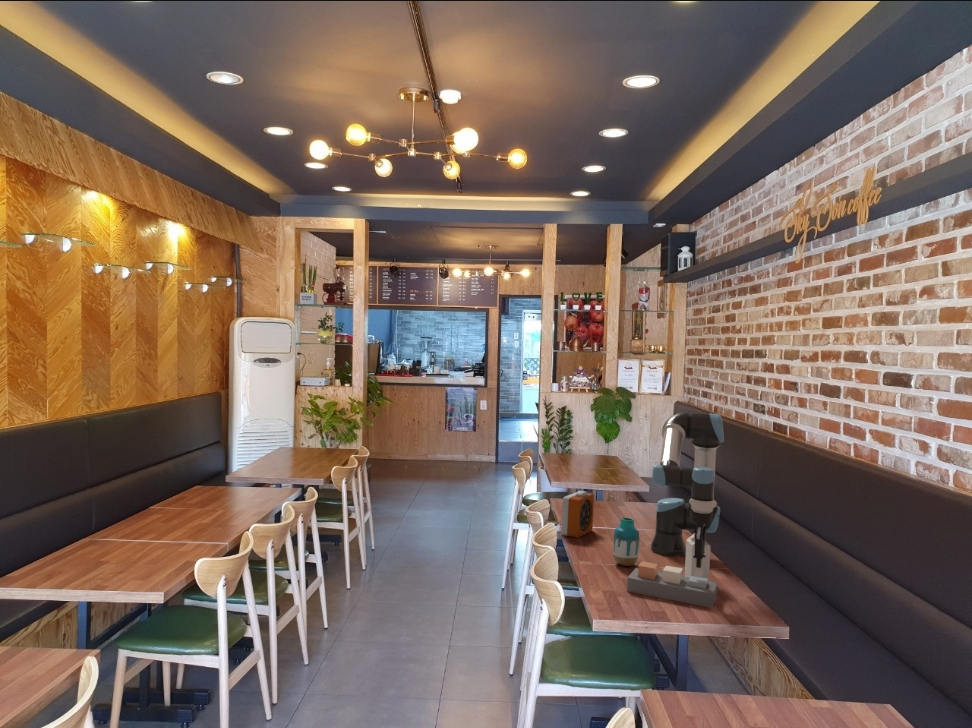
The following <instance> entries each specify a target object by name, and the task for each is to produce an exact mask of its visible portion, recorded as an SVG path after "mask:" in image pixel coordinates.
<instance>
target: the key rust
mask: <svg viewBox="0 0 972 728" xmlns="http://www.w3.org/2000/svg"><path fill="white" fill-rule="evenodd" d="M637 568H638V577H642V578H648V579H653V580H655V579H656V578H657V576H658V572H659V564H658V563H655V562H650V561H649V562H647V561H641V562H640V563H639V565H638V567H637Z"/></svg>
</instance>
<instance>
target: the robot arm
mask: <svg viewBox="0 0 972 728" xmlns="http://www.w3.org/2000/svg"><path fill="white" fill-rule="evenodd" d="M661 436H662V445H661V452H660V460H659V464H654V465H653V466H652V477H651V478H652V479H651V480H652V483H653V484H654V485H661V486H665V487H666V486H667V487H679V488H686V489H687V488H689V489H691V496H690V497H691V498H690V499H689V501H688V502H685V499H683V498H678V497H666V498H662V499H659V500H658V501H657V504H656V510H655V512H656V515H655V516H656V518H655V533H654V535H653V537H652V539H651V542H650V550H651V552H654V553H656V554H659V555H663V556H668V557H669V556H670V557H673V556H674V557H679V556H683V555H684V556H685V555H686V544H685V543H686V542H685V540H684V537H683V531H692V532H694V533H695V534H694V533H693V534H694V536H695V555H694V556H693V558H695V571H694V575H695V576H700V577H702V576H703V557H706V555H704V553H705V552H704V549H705V541H706V537H707V533H710V534H711V533H712V534H713V533H715V532H716V531H717V529H718V526H719V522H720V521H719V520H720V513H721V507H720V506H718V503H717V500H715V499H714V497H715V496H714V495H715V494H714V492H715V479H716V458H717V457H716V456H717V449H718V448H719V447H721V443H724V442H725V438H724V437H725V435H724V425H723V417H722V416H721V415H720V414H718V413H711V412H709V413H708V412H693V411H691V412H689V411H682V412H681V411H680V412H678V413H675V414H673V415H671V416H670V417H669V418H668V419H667V420H666V421H665V422H664V424H663V426H662V429H661ZM684 440H690V441H691V445H692V446H693V447H694V466H693V467H689V466H688V467H687V466H686V467H685V466H680V465H681V464H680V463H681V457H682V456H681V454H682V445H683V441H684Z"/></svg>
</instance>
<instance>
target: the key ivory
mask: <svg viewBox="0 0 972 728" xmlns="http://www.w3.org/2000/svg"><path fill="white" fill-rule="evenodd" d="M683 571H684V568H682V567H676V566H670V565H665V567H664V568H663V570H662V573H663V581H664V582H669V583H675V584H681V582H682V576H684V575H683V573H684V572H683Z"/></svg>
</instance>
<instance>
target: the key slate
mask: <svg viewBox="0 0 972 728" xmlns="http://www.w3.org/2000/svg"><path fill="white" fill-rule="evenodd" d="M688 586H691V587H696V588H701V589H707V587H708V579H706V578H701V577H695V576H691V577H690V579H689V580H688Z"/></svg>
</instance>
